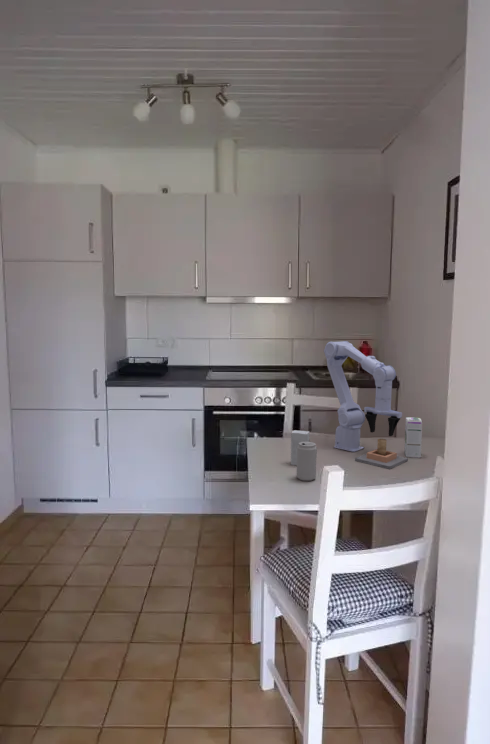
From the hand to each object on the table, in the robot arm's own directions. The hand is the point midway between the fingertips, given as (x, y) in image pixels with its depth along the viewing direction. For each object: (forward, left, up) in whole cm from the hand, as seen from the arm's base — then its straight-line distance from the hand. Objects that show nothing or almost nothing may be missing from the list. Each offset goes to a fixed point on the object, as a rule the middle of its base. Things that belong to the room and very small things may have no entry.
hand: (381, 433), depth 193 cm
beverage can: (-6, -39, -10) cm, 41 cm away
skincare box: (-17, -28, -10) cm, 34 cm away
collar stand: (+2, -3, -9) cm, 10 cm away
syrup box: (+7, +12, -10) cm, 17 cm away
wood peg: (+2, -3, -8) cm, 9 cm away
